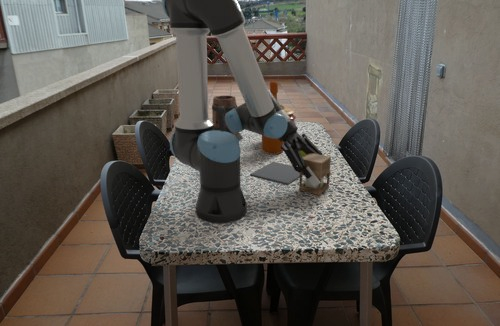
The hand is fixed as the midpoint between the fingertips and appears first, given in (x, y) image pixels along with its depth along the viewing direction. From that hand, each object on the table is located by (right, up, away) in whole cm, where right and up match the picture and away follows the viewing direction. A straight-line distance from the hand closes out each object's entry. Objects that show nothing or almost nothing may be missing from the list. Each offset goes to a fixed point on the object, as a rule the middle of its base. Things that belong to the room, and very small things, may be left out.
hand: (323, 180), depth 129 cm
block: (-3, -3, +3) cm, 5 cm away
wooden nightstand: (-3, -3, +3) cm, 5 cm away
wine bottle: (-14, +11, +41) cm, 45 cm away
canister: (-10, +15, +55) cm, 58 cm away
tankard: (-36, +16, +58) cm, 71 cm away
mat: (-13, +2, +17) cm, 21 cm away
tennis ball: (-1, +8, +34) cm, 35 cm away
